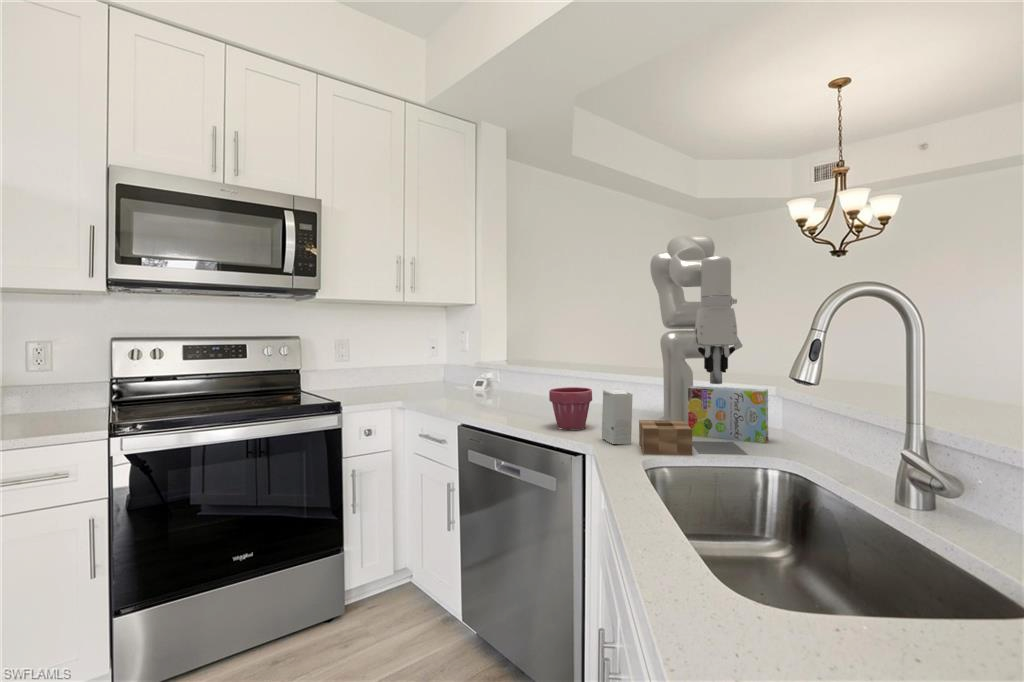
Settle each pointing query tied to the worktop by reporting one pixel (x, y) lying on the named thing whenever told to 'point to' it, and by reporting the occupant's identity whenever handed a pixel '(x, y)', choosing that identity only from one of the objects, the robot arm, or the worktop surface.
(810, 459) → the worktop surface
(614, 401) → the skincare box
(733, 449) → the mat
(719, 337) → the robot arm
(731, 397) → the snack box
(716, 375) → the pin
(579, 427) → the plant pot
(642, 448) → the hole block
